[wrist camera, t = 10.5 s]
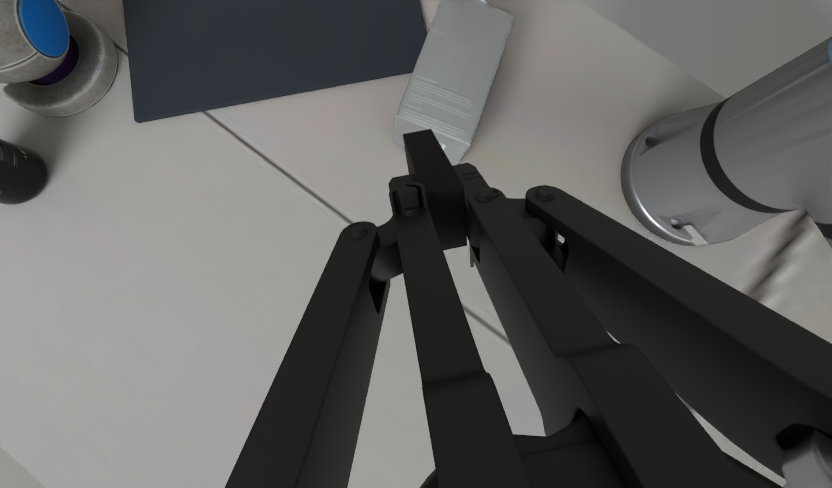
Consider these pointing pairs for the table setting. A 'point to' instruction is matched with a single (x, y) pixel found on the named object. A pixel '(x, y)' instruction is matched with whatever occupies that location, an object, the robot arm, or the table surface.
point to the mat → (261, 49)
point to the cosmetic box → (454, 74)
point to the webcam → (53, 57)
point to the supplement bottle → (19, 173)
